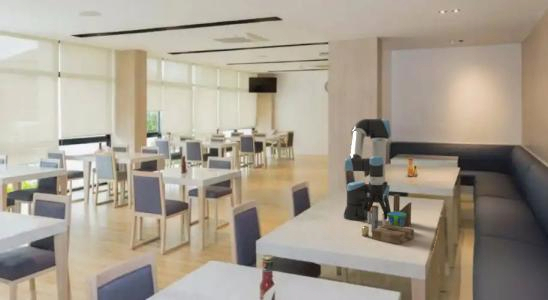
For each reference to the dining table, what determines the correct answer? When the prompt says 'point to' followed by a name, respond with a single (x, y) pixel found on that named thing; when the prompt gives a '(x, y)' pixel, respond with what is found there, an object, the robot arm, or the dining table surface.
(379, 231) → the hole block
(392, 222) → the snack cup
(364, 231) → the short brass pin
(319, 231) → the dining table surface
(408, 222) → the brown forked bracket
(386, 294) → the dining table surface
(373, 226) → the long steel pin
